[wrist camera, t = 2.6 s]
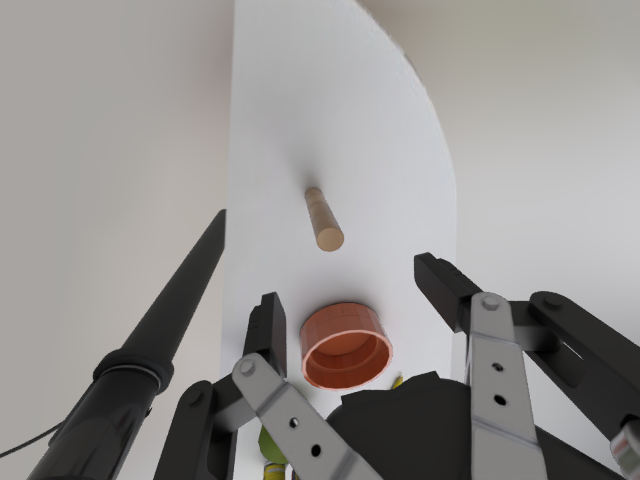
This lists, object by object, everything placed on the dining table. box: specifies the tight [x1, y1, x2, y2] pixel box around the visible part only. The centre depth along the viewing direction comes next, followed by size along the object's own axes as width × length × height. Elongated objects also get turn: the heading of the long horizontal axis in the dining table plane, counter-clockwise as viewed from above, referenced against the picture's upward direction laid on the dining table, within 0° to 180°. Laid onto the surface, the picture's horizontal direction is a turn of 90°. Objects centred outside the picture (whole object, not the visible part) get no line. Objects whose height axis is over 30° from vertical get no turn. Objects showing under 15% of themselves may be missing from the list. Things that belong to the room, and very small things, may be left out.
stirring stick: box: [305, 187, 344, 252], centre depth 23 cm, size 2×2×12 cm
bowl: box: [300, 303, 393, 391], centre depth 38 cm, size 14×14×6 cm
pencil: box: [393, 377, 403, 389], centre depth 52 cm, size 16×1×1 cm, turn 167°
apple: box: [258, 424, 289, 464], centre depth 44 cm, size 11×10×10 cm
